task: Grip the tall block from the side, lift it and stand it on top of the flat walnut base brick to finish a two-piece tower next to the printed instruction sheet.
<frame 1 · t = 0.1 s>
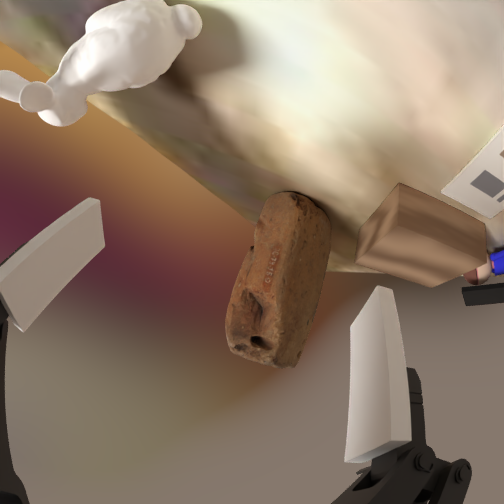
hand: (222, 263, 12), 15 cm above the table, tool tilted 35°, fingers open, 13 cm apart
block: (301, 209, 36), on the table
rabbit: (136, 28, 15), on the table
tower base: (420, 226, 29), on the table
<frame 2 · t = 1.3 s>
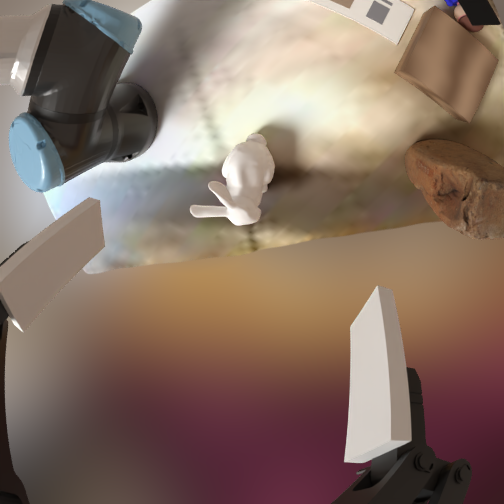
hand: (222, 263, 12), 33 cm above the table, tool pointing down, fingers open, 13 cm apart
block: (431, 160, 34), on the table
rabbit: (251, 173, 43), on the table
instruction sheet: (360, 1, 23), on the table
tower base: (442, 64, 25), on the table
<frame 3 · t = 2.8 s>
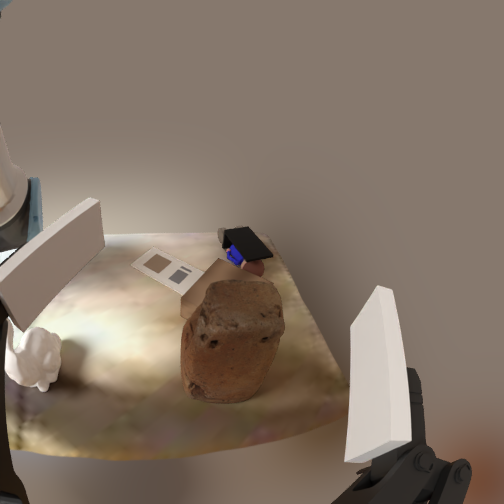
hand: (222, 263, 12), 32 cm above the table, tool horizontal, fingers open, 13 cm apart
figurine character: (239, 262, 63), on the table
block: (216, 385, 38), on the table
rabbit: (41, 373, 30), on the table
instruction sheet: (168, 270, 56), on the table
tower base: (226, 308, 51), on the table
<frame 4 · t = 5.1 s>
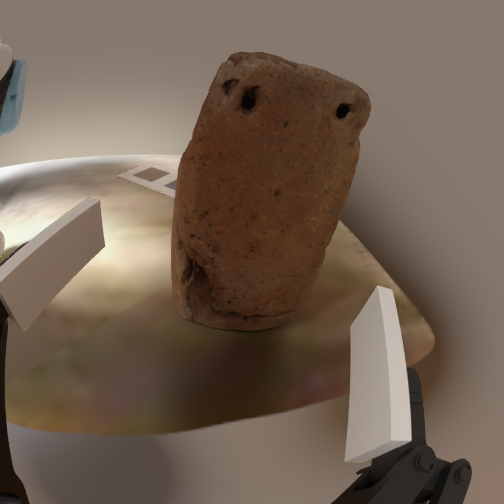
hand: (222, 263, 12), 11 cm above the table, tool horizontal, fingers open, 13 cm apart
block: (230, 305, 25), on the table
instruction sheet: (164, 180, 42), on the table
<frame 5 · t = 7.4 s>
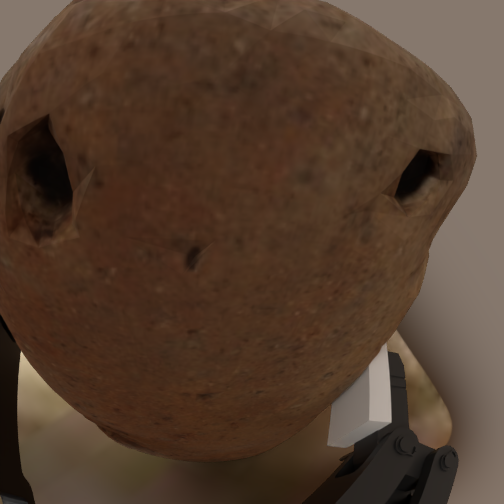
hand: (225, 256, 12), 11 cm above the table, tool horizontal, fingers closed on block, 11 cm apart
block: (189, 417, 16), on the table, touching gripper
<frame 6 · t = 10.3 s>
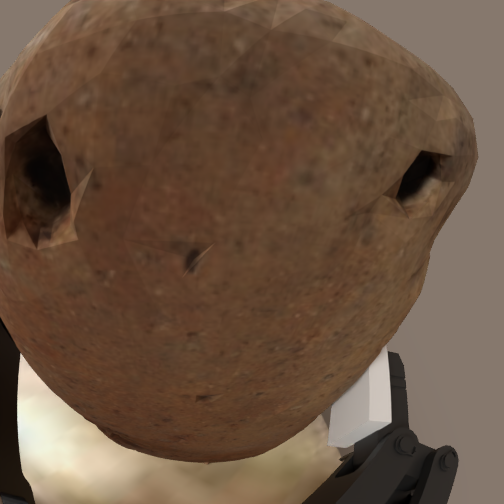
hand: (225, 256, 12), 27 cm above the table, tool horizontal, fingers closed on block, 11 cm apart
block: (189, 418, 16), point 16 cm above the table, touching gripper
when the fingers open (17 cm above the table, at t = 13.2 s): block drops 1 cm, resting on tower base.
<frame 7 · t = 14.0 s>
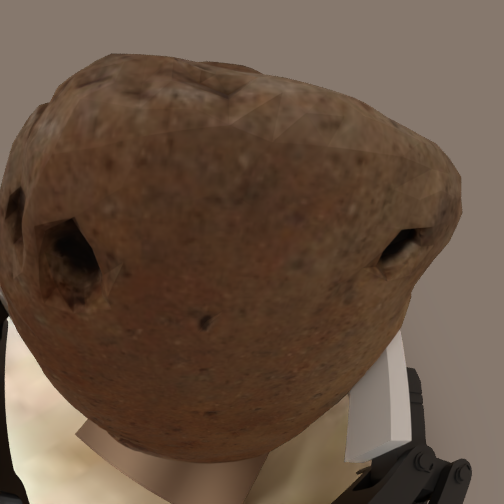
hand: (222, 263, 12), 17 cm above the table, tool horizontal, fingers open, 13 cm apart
block: (191, 421, 16), point 5 cm above the table, touching tower base
tower base: (190, 434, 19), on the table
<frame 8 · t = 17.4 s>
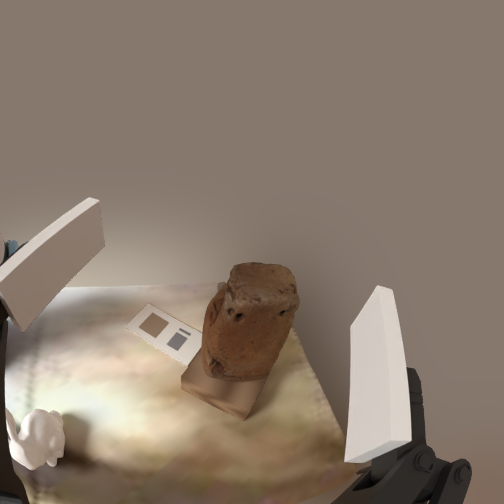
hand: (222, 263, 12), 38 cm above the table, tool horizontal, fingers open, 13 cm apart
block: (232, 366, 43), point 5 cm above the table, touching tower base
rabbit: (47, 447, 25), on the table
instruction sheet: (165, 333, 51), on the table
tower base: (228, 377, 46), on the table
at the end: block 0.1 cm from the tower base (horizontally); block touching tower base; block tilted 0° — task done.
